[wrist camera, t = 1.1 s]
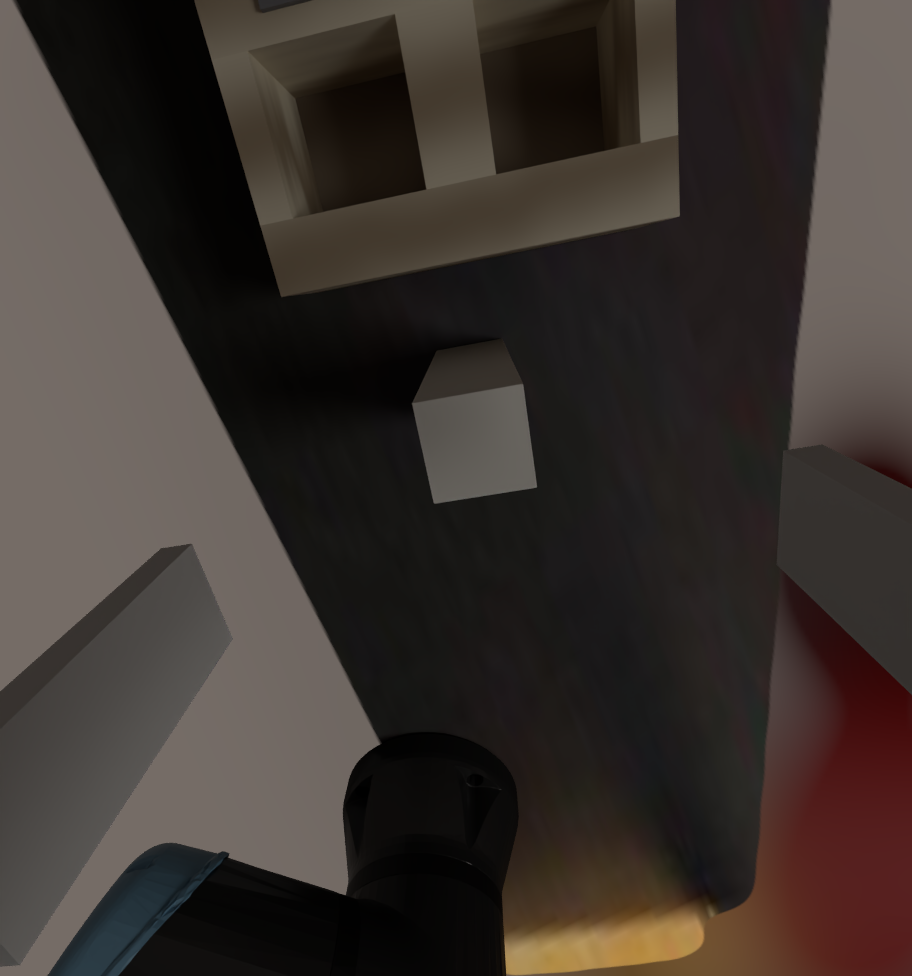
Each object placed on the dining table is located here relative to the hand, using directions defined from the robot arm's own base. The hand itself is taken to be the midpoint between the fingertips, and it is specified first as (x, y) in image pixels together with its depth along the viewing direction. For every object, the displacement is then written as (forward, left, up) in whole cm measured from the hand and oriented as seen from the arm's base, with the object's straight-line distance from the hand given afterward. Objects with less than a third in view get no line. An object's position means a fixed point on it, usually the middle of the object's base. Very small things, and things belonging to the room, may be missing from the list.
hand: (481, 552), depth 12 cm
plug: (0, 0, -22) cm, 22 cm away
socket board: (+14, -1, -22) cm, 26 cm away
